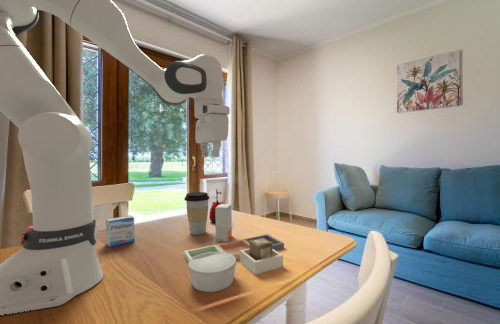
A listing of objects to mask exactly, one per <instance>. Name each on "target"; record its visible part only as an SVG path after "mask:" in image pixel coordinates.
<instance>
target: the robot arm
mask: <svg viewBox="0 0 500 324" xmlns="http://www.w3.org/2000/svg"><path fill="white" fill-rule="evenodd" d="M39 11H42V12H47V13H49V14H51V15H53V16H55V17H57V18H59V19H60V20H62V21H63V22H64V23H65V24H66V25H68V26H69V27H70V28H72V29H73V30H75V31H76V32H78V33H79V34H80V35H81V36H84V37H85V38H86V39H87V40H89V41H91V42H92V43H94V44H95V45H97V46H98V47H100V48H101V49H102V50H104V51H105V52H106V53H108V54H109V55H110V56H111V57H113V58H115V59H116V60H117V61H119V62H120V63H121V64H122V65H123V66H125V67H126V68H127V69H128V70H130V71H131V72H132V73H134V74H135V75H136V77H138V78H140V79H141V80H142V81H143V82H145V83H146V84H147V85H148V86H150V87H151V89H152V90H153V91H154V94H156V96H157V97H158V99H159V100H160V101H161V102H163V103H164V104H166V105H167V106H173V107H175V106H176V107H178V106H180V105H183V104H184V103H185V102H186V101H187V100H188V98H190V99H193V101H194V118H196V119H198V120H196V122H195V143H196V144H200V145H199V146H200V151H201V156H202V158H209V156H210V155H209V154H210V153H209V150H208V149H209V148H208V147H209V143H212V144H211V145H212V151H211V157H213V158H219V157H220V150H221V146H222V142H223V141H227V139H228V136H229V122H230V121H229V116H228V115H230V112H231V109H230V107H229V106H227V105H225V103H224V97H223V92H224V74H223V69H222V64H221V63H220V60H218V59H217V58H216V57H214V56H212V55H209V54H199V55H197V56H196V57H194V58H192V59H188V60H175V61H172V62H169V64H168V65H167V66H166V67H165V69H163V68H162V67H160V66H159V65H158V64H157V63H156V62H155V61H153V60H152V59H151V58H150V57H149V56H147V55H146V54H145V53H144V52H143V51H142V50H141V49H140V48H139V46H137V44H136V43H135V41H134V38H133V37H132V35H131V34H132V33H131V32H130V30H129V29H130V28H129V26H128V22H127V20H126V17H125V14H124V13H123V12H122V10H121V9H120V8H119V7H118V5H116V3H114V1H113V0H0V112H1V113H2V114H3V115H4V116H5V117H7V119H8V120H10V121H11V122H12V124H13V125H15V126H16V128H18V131H17V140H18V144H19V146H20V148H21V152H22V157H23V163H24V167H25V172H26V176H27V179H28V180H27V181H28V183H29V188H30V193H31V194H30V195H31V196H30V197H31V205H32V206H31V211H32V214H31V215H32V225H30V226H28V227H27V228H25V229H24V231H23V233H22V234H21V235H20V237H19V244H21V246H22V247H21V248H20V249H18V250H17V251H15V252H14V253H13V254H12V255H10V256H8V257H7V258H6V259H5V260H4V261H3V262H1V263H0V315H1V316H5V315H4V314H7V315H13V314H19V313H24V311H25V312H29V311H30V310H31V311H35V310H41V309H46V308H53V307H59V306H62V305H64V304H65V303H67V302H69V301H70V300H72V299H73V298H74V297H76V296H77V295H80V294H81V293H82V294H83V293H84V292H86V291H88V290H89V289H91V288H94V286H95V285H97V284H98V283H99V282H100V281H101V280H103V277H104V272H103V270H102V268H101V264H100V260H99V258H98V252H97V246H96V243H97V240H98V235H97V234H98V230H97V229H98V227H97V223H96V219H94V197H93V196H94V195H93V194H94V193H93V185H92V184H93V183H92V182H93V181H92V175H91V173H92V172H91V163H90V161H91V160H90V153H91V150H92V148H93V146H94V145H93V138H92V137H93V136H92V134H91V133H90V131H89V129H87V127H86V125H85V124H84V123H83V122H82V120H80V118H79V117H78V115H77V114H76V113H75V111H74V110H73V109H72V107H71V106H70V105H69V103H68V102H67V101H66V100H65V99H64V97H63V96H62V94H61V93H60V92H59V91H58V89H57V88H56V87H55V86H54V84H53V83H52V82H51V81H50V79H49V78H48V76H47V75H46V74H45V72H44V71H43V70H42V69H41V67H40V66H39V65H38V64H37V62H36V61H35V59H34V58H33V57H32V55H31V54H30V53H29V51H28V50H27V48H25V46H24V45H23V43H21V41H20V39H19V38H18V37H17V36H19V35H21V34H22V33H24V32H27V31H29V30H32V29H33V28H34V27H35V26H36V25H37V23H38V21H39V17H40V15H39V14H40V13H39ZM18 312H19V313H18ZM12 313H13V314H12Z"/></svg>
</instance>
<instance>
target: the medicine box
mask: <svg viewBox="0 0 500 324" xmlns="http://www.w3.org/2000/svg"><path fill="white" fill-rule="evenodd" d="M105 230H106V231H105V233H106V245H107V246H108V247H109V248H113V247H112V246H114V247H117V246H116V245H118V246H121V244H122V245H125V243H126V244H129V242H130V243H133V242H135V217H133V215H125V216H119V217H112V218H106V219H105Z"/></svg>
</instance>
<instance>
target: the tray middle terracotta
mask: <svg viewBox="0 0 500 324" xmlns="http://www.w3.org/2000/svg"><path fill="white" fill-rule="evenodd" d="M243 239H244V238H242V239H241V238H240V239H236V240H231V241H225V242H222V243H216V244H215V245H216V246H217V247H218V248H219V249H221V250H222V251H223V252H225V253H229V254H231V255H233V256H234V257H235V258H236V261H237V260H240V250H244V249H249V243H248V242H246V241H245V240H243Z"/></svg>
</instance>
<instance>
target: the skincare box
mask: <svg viewBox="0 0 500 324" xmlns="http://www.w3.org/2000/svg"><path fill="white" fill-rule="evenodd" d="M232 208H233V207H232V203H231V204H230V203H229V204H228V203H224V204H220V205H218V206H217V207H216V208H215V219H216V220H215V221H216V223H215V241H216V242H229V240H230V238H231V237H232V236H233V235H232V234H233V232H232V231H233V230H232V227H233V225H232V223H233V220H232V218H233V217H232V216H233V215H232V213H233V212H232Z"/></svg>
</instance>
